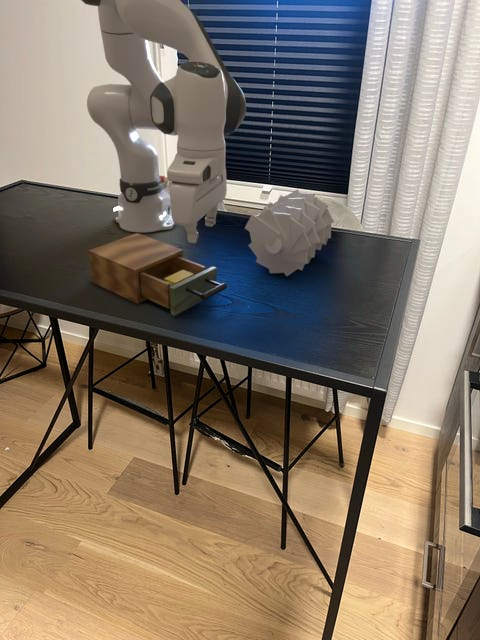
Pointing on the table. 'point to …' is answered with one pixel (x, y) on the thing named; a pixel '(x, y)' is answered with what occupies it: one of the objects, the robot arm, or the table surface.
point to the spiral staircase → (289, 232)
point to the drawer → (179, 284)
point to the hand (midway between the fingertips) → (202, 233)
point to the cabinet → (128, 263)
